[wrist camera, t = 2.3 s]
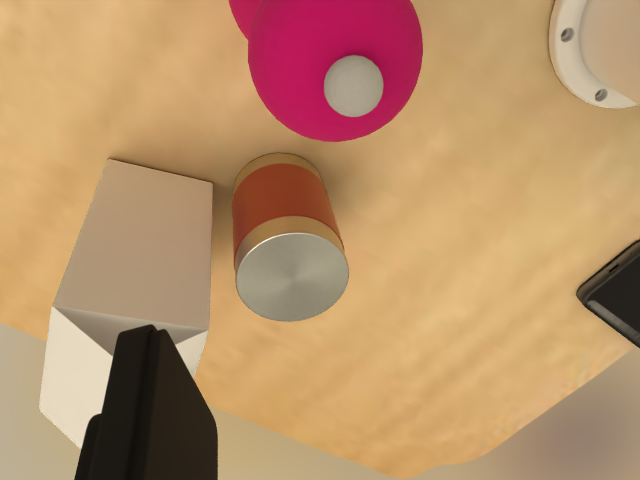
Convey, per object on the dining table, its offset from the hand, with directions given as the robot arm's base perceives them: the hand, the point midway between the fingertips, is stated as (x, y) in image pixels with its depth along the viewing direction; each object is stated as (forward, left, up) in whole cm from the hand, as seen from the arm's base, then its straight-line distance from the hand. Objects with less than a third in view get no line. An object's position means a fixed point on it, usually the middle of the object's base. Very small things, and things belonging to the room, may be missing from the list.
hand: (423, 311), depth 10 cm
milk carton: (+12, +12, -28) cm, 33 cm away
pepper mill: (-1, -1, -28) cm, 28 cm away
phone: (-28, +33, -28) cm, 51 cm away
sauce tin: (+3, +13, -28) cm, 31 cm away
